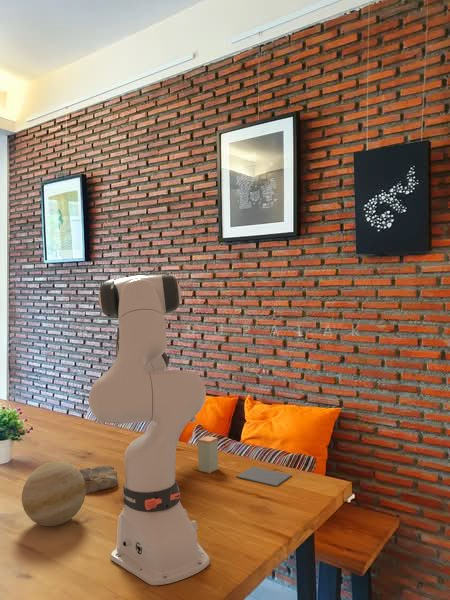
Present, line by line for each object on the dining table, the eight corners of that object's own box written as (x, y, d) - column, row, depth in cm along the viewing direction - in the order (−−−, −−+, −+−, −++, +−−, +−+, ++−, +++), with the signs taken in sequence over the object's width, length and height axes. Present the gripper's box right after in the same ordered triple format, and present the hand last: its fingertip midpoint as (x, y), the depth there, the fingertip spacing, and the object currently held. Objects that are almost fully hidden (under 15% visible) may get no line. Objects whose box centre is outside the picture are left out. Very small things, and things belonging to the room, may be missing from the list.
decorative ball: (60, 542, 110) (59, 476, 110) (8, 532, 114) (7, 470, 114) (98, 514, 124) (97, 456, 124) (50, 506, 129) (49, 451, 129)
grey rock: (50, 502, 132) (122, 488, 141) (49, 485, 132) (121, 471, 141) (46, 486, 145) (112, 474, 153) (45, 470, 145) (111, 459, 153)
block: (218, 468, 156) (217, 437, 156) (209, 472, 152) (209, 441, 152) (207, 466, 158) (206, 435, 158) (198, 470, 155) (198, 439, 155)
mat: (291, 476, 148) (291, 474, 148) (276, 486, 140) (276, 485, 140) (253, 467, 156) (253, 466, 156) (236, 477, 148) (236, 476, 148)
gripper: (146, 391, 156) (169, 425, 151) (186, 382, 173) (208, 412, 167) (136, 403, 159) (159, 437, 153) (176, 393, 176) (198, 423, 170)
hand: (185, 424), depth 160 cm, fingers open, 8 cm apart
